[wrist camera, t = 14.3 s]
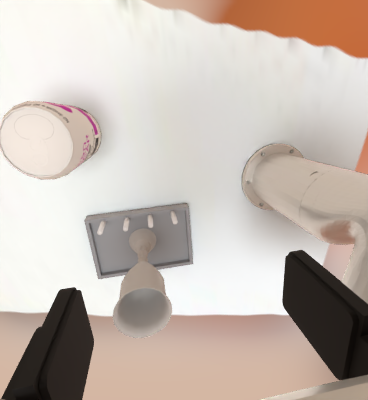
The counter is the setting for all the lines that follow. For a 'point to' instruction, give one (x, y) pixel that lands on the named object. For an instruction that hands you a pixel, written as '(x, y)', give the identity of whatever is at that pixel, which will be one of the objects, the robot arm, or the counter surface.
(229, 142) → the counter surface
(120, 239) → the drying rack
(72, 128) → the supplement can
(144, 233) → the chalice
